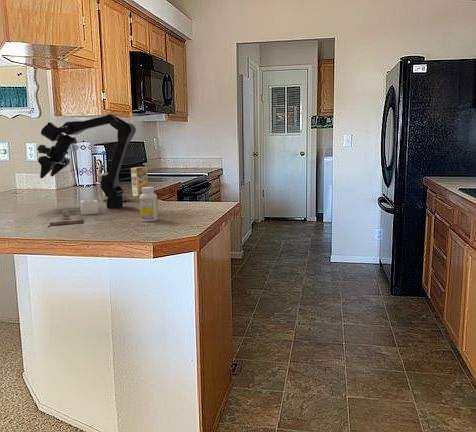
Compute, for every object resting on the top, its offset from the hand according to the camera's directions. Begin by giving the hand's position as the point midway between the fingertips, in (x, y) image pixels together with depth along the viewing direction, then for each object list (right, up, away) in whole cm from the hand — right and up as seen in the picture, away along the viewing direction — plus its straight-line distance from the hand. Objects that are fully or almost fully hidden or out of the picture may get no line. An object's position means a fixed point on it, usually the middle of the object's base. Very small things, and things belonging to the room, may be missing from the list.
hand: (46, 176), depth 216 cm
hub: (+20, -20, -31) cm, 42 cm away
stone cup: (+23, -10, +27) cm, 37 cm away
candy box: (+33, -6, +48) cm, 58 cm away
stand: (+24, -17, -15) cm, 34 cm away
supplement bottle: (+52, -19, -30) cm, 63 cm away
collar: (+24, -16, -16) cm, 33 cm away
